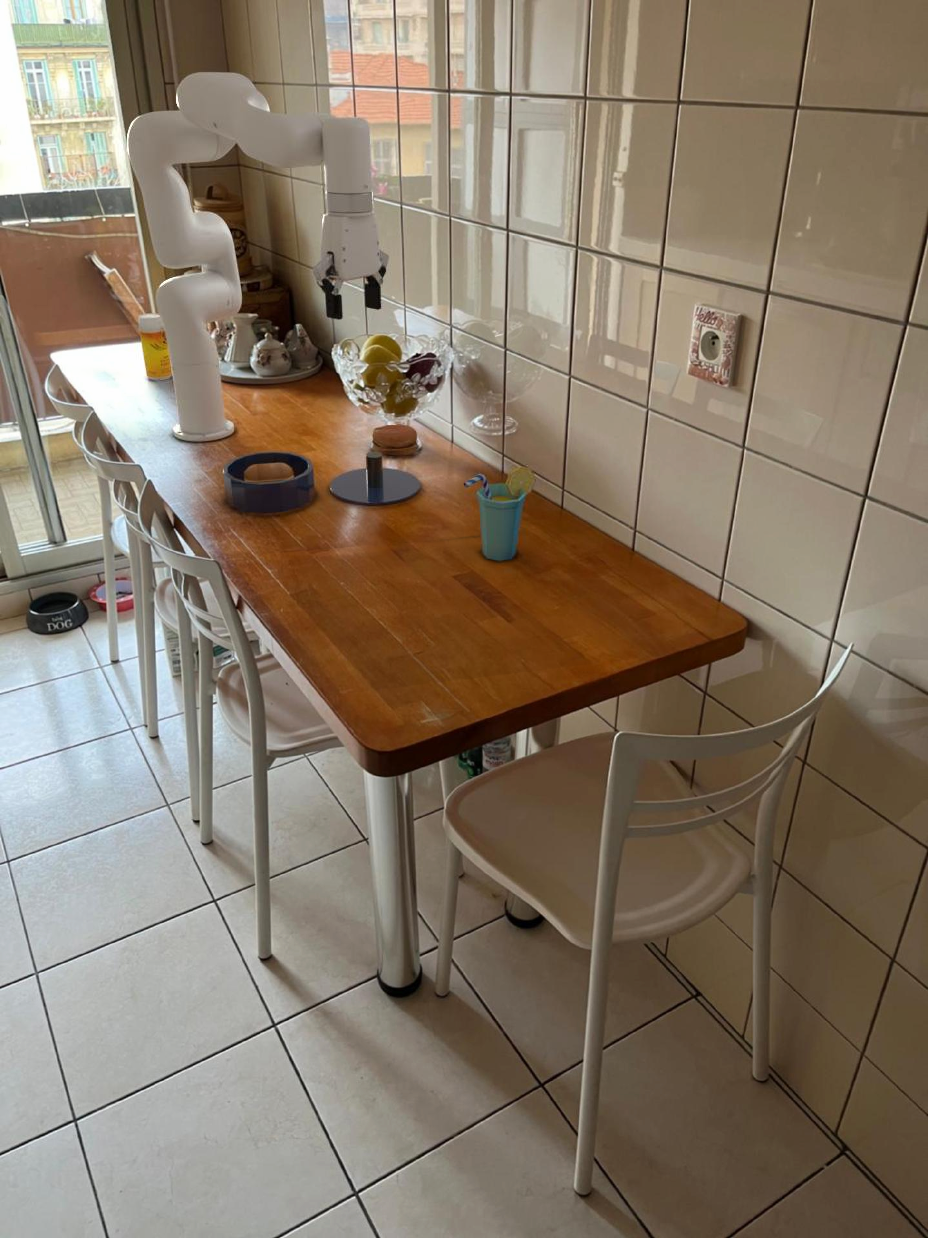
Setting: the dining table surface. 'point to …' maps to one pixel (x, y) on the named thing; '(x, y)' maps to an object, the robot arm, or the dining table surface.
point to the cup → (502, 512)
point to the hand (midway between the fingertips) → (354, 313)
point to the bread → (268, 472)
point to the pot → (269, 484)
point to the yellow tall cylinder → (154, 347)
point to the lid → (374, 484)
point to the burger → (395, 440)
